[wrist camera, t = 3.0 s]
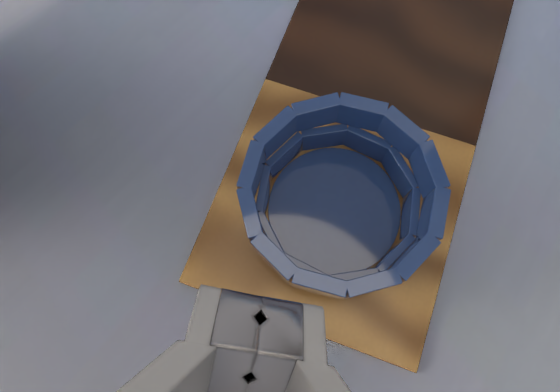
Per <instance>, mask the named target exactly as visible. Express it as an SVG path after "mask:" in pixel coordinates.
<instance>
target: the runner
mask: <svg viewBox="0 0 560 392" xmlns="http://www.w3.org/2000/svg"><path fill="white" fill-rule="evenodd" d="M316 97H320V96H318V95H315V94H311V93H308V92H305V91H302V90H299V89H296V88H293V87H289V86H286V85H283V84H280V83H277V82H274V81H271V80H267V79H265V81H264V84H263V86H262V88H261V91H260V93H259V95H258V98H257V100H256V102H255V105H254V107H253V109H252V112H251V114H250V116H249V119H248V121H247V123H246V126H245V128H244V130H243V133H242V135H241V137H240V140H239V142H238V144H237V147H236V149H235V151H234V154H233V156H232V158H231V161H230V163H229V165H228V168H227V170H226V172H225V175H224V177H223V179H222V182H221V184H220V186H219V189H218V191H217V193H216V196H215V198H214V200H213V203H212V205H211V207H210V210H209V212H208V214H207V217H206V219H205V221H204V224H203V226H202V228H201V231H200V233H199V235H198V238H197V240H196V242H195V245H194V247H193V249H192V252H191V254H190V256H189V259H188V261H187V263H186V266H185V268H184V270H183V273H182V275H181V277H180V280H179V282H181V283H184V284H186V285H189V286H191V287H194V288H196V289H199V287H200V285H201V284H202V285H207V286H212V287H217V288H221V291H222V288H224V289H228V290H233V291H238V292H243V293H248V294H252V295H257V296H265V297H271V298H277V299H282V300H288V301H294V302H300V303H301V304H302V303H305V304H311V305H317V306H322V307H323V309H324V316H325V331H326V339H329V340H331V341H334V342H337V343H339V344H342V345H344V346H347V347H350V348H352V349H355V350H357V351H360V352H363V353H365V354H368V355H370V356H373V357H376V358H378V359H381V360H383V361H386V362H389V363H391V364H394V365H396V366H399V367H402V368H404V369H407V370H409V371H412V372H414V373H417V369H418V366H419V362H420V358H421V354H422V350H423V347H424V343H425V339H426V335H427V331H428V327H429V324H430V320H431V316H432V312H433V308H434V304H435V301H436V297H437V293H438V289H439V285H440V281H441V278H442V274H443V270H444V266H445V262H446V258H447V255H448V251H449V247H450V243H451V239H452V235H453V232H454V228H455V224H456V220H457V216H458V212H459V209H460V205H461V201H462V197H463V193H464V189H465V186H466V182H467V178H468V174H469V170H470V166H471V163H472V159H473V155H474V151H475V147H476V146H474V145H471V144H468V143H465V142H462V141H459V140H456V139H453V138H449V137H446V136H443V135H440V134H437V133H434V132H431V131H427V130H424V129H422V130H423V131H424V132H426V133H427V134H428V135H429V136H430V138H429V139H428V140H427V141H429V140H433V142H434V144H435V147H436V149H437V152H438V154H439V157H440V159H441V162H442V164H443V167H444V169H445V172H446V174H447V177H448V180H449V182H450V185H451V186H450V187H448V188H447V189H451V195H450V200H449V206H448V212H447V218H446V224H445V230H444V236H443V239H441V240H440V242H441V244H440V245H439V246H438V247H437V248H436V249H435V250H434V251H433V252H432V254H431V255H430V256H429V257H428V258H427V259H426V260H425V261H424V262H423V263H422V264H421V266H420V267H419V268H418V269H417V270H416V271H415V272H414V273H413V274H412V275H411V276H410V278H409V279H408V280H407V281H405V282H402V284H399V285H396V286H393V287H390V288H386V289H382V290H379V291H375V292H371V293H368V294H364V295H360V296H357V297H353V298H349V299H346V300H344V299H340V300H338V299H335V298H331V297H328V296H324V295H320V294H317V293H313V292H310V291H306V290H302V289H299V288H295V287H292V286H291V282H292V281H291V282H290V283H289V284H287V283H286V282H285V281H284V280H283V279H282V278H281V277H280V276H279V275H278V274H277V273H276V272H275V271H274V270H273V269H272V268H271V267H270V266H269V265H268V264H267V263H266V262H265V261H264V260H263V259H262V258H261V257H260V256H259V255H258V254H257V253H256V252H255V250H254V249H253V247H252V245H251V244H250V241H249V239H248V237H247V233H246V229H245V224H244V220H243V216H242V212H241V208H240V204H239V200H238V196H237V192H236V190H237V186H236V184H237V181H238V178H239V175H240V172H241V169H242V165H243V162H244V159H245V156H246V153H247V150H248V147H249V143H250V140H253V136H254V135H255V134H256V133H257V132H259V131H260V130H261V129H262V128H263V127H264V126H265V125H266V124H267V123H269V122H270V121H271V120H272V119H273V118H274V117H275V116H276V115H277V114H279V113H280V112H281V111H282V110H283V109H284V108H285V107H286V106H290V107H291V104H292V103H295V102H299V101H303V100H307V99H311V98H316ZM338 124H340V123H336V122H335V123H331V124H327V125H323V126H319V127H324V126H331V125H338ZM348 126H349V125H347V127H348ZM315 128H317V127H315ZM360 129H361V128H360ZM363 130H365V129H363ZM365 131H367V132H369V133H372V134H374V135H376V136H378V137H380V138H383V137H381V136H380V135H379V134H378V133H377V132H374V131H369V130H365ZM296 133H297V132H296ZM296 133H295V134H296ZM299 133H300V134H301V131H299ZM295 134H294V135H295ZM291 137H292V136H291ZM291 137H290V138H291ZM290 138H289V139H290ZM289 139H288V140H289ZM383 139H384V138H383ZM288 140H287V141H288ZM287 141H286V142H287ZM286 142H285V143H286ZM285 143H284V144H285ZM284 144H283V145H284ZM283 145H282V146H283ZM282 146H281V147H282ZM391 147H392V146H391ZM324 148H342V149H348V150H352V151H355V150H353V149H351V148H349V147H347V146H344V145H338V146H331V147H324ZM278 149H279V148H278ZM278 149H277V150H278ZM318 149H322V148H318ZM277 150H276V151H277ZM313 150H317V149H311V150H304V151H301V152H300V153H299V154H298V155H297V156H296V157H295V158H294V159H296V158H298V157H299V156H301V155H303V154H305V153H307V152H310V151H313ZM276 151H275V152H276ZM275 152H274V153H275ZM355 152H357V151H355ZM274 153H273V154H274ZM358 153H360V152H358ZM273 154H272V155H273ZM360 154H362V153H360ZM400 154H401V153H400ZM272 155H271V156H272ZM362 155H364V154H362ZM401 155H402V154H401ZM271 156H270V157H271ZM364 156H366V155H364ZM270 157H269V158H270ZM366 157H368V156H366ZM402 157H403V158H404V160H405V162H406V163H407V165H408V166H409V168H410V170H411V171H412V168H411V166H410V163H409V160H408V159H407V158H406V157H405V156H404V155H402ZM269 158H268V159H269ZM368 158H369V159H371V160H372V161H374V162H375V163H376V164H378V165H379V166H380V167H381V168H382V169H383V170H384V171H385V173H386V174H387V175H388V173H387V172H386V170H385V168H384V167H383V165H382V163H381V162H379V161H377V160H375V159H373V158H370V157H368ZM268 159H267V160H268ZM294 159H293V160H294ZM293 160H292V161H293ZM292 161H291V162H292ZM291 162H290V163H291ZM288 164H289V163H288ZM288 164H287V165H288ZM287 165H286V166H287ZM286 166H285V167H286ZM285 167H284V168H285ZM284 168H283V169H284ZM283 169H282V170H283ZM282 170H281V171H282ZM281 171H280V172H279V173H278V174H277V175H276V176H275V177H274V178H272V184H271V189H270V192H271V190H272V187H273V184H274V182H275V181H276V179H277V177H278V176H279V174H280V173H281ZM412 173H413V171H412ZM388 176H389V175H388ZM389 178H390V176H389ZM390 179H391V178H390ZM391 181H392V180H391ZM392 183H393V181H392ZM259 184H260V183H259ZM393 184H394V183H393ZM394 187H395V189H396V191H397V194H398V197H399V201H400V208H401V214H402V202H403V198H402V196H401V194H400V193H399V191H398V190H397V188H396V186H395V185H394ZM418 188H419V187H418ZM258 189H259V186H258ZM258 189H257V193H256V196H255V202H256V200H257V195H258ZM269 197H270V195H269ZM422 201H423V198H422V195H421V197H420V211H419V217H420V212H421V206H422ZM268 202H269V200H268ZM266 217H267V219H268V221H269V218H268V206H267V212H266ZM400 225H401V220H400ZM399 237H400V227H399V230H398V234H397V236H396V239H395V241H394V243H393V245H392V246H391V248H392V247H393V246H394V245H395V244H396V243H397V242H398V241H399ZM415 238H416V237H415ZM391 248H390V249H391ZM406 250H407V249H406ZM406 250H405V251H406ZM389 251H390V250H389ZM389 251H388V252H389ZM405 251H404V252H405ZM388 252H387V253H388ZM387 253H386V254H387ZM386 254H385V255H386ZM381 259H382V258H381ZM381 259H380V260H381ZM380 260H379V261H380ZM379 261H378V262H379ZM378 262H377V263H378ZM377 263H376V264H377ZM376 264H374V265H373V266H371V267H370V268H373V267H374V266H375V265H376ZM392 265H393V264H392ZM392 265H391V266H392ZM391 266H390V267H391ZM370 268H368V269H370ZM220 296H221V294H220Z"/></svg>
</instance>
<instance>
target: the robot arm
mask: <svg viewBox="0 0 560 392" xmlns="http://www.w3.org/2000/svg"><path fill="white" fill-rule="evenodd" d="M220 294H221V296H220ZM116 392H351V390H350V389H349V387H348V386H347V385H346V383H345V382H344V380H343V379H342V377H341V376H340V375H339V373H338V372H337V370H336V369H335V367H333V366H328V361H327V346H326V331H325V316H324V309H323V307H322V306H317V305H311V304H305V303H302V304H301V303H300V302H294V301H288V300H282V299H277V298H271V297H265V296H257V295H252V294H248V293H243V292H238V291H233V290H228V289H224V288H222V291H221V288H217V287H212V286H207V285H202V284H201V285H200V287H199V289H198V293H197V296H196V300H195V304H194V307H193V311H192V315H191V318H190V322H189V326H188V329H187V333H186V336H185V340H184V341H182V340H177V341H176V342H175V343H174V344H172V345H171V346H170V347H169V348H168V349H166V350H165V351H164V352H163V353H162V354H160V355H159V356H158V357H157V358H156V359H154V360H153V361H152V362H151V363H150V364H149V365H147V366H146V367H145V368H144V369H143V370H141V371H140V372H139V373H138V374H137V375H135V376H134V377H133V378H132V379H131V380H129V381H128V382H127V383H126V384H125V385H123V386H122V387H121V388H120V389H119V390H117V391H116Z"/></svg>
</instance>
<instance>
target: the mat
mask: <svg viewBox="0 0 560 392" xmlns="http://www.w3.org/2000/svg"><path fill="white" fill-rule="evenodd" d="M513 2H514V0H299V2H298V4H297V7H296V9H295V11H294V14H293V16H292V18H291V21H290V23H289V25H288V28H287V30H286V32H285V35H284V37H283V39H282V42H281V44H280V46H279V49H278V51H277V53H276V56H275V58H274V60H273V63H272V65H271V67H270V70H269V72H268V74H267V77H266V79H267V80H271V81H274V82H277V83H280V84H283V85H286V86H289V87H293V88H296V89H299V90H302V91H305V92H308V93H311V94H315V95H318V96H324V95H328V94H332V93H336V92H338V94H339V97H340V95H341V92H344V93H348V94H352V95H357V96H361V97H365V98H370V99H374V100H378V101H383V102H387V103H389V106H388V108H389V107H390V106H392V105H393V106H395V107H396V108H397V109H398V110H399V111H401V112H402V113H403V114H404V115H405V116H407V117H408V118H409V119H410V120H411V121H413V122H414V123H415V124H416V125H417V126H419V127H420V128H421V129H424V130H427V131H431V132H434V133H437V134H440V135H443V136H446V137H449V138H453V139H456V140H459V141H462V142H465V143H468V144H471V145H474V146H476V143H477V140H478V136H479V132H480V128H481V124H482V120H483V117H484V113H485V109H486V105H487V101H488V97H489V94H490V90H491V86H492V82H493V78H494V74H495V71H496V67H497V63H498V59H499V55H500V51H501V48H502V44H503V40H504V36H505V32H506V28H507V25H508V21H509V17H510V13H511V9H512V5H513Z"/></svg>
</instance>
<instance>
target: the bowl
mask: <svg viewBox="0 0 560 392" xmlns="http://www.w3.org/2000/svg"><path fill="white" fill-rule="evenodd" d="M388 106H389V103H387V102H383V101H378V100H374V99H370V98H365V97H361V96H357V95H352V94H348V93H344V92H341V95H340V97H339V94H338V92H336V93H332V94H328V95H324V96H320V97H316V98H311V99H307V100H303V101H299V102H295V103H292V104H291V107H290V106H286V107H285V108H284V109H283V110H282V111H281V112H280V113H279V114H277V115H276V116H275V117H274V118H273V119H272V120H271V121H270V122H269V123H267V124H266V125H265V126H264V127H263V128H262V129H261V130H260V131H259V132H257V133H256V134H255V135H254V136H253V140H250V143H249V147H248V150H247V153H246V156H245V159H244V162H243V165H242V169H241V172H240V175H239V178H238V181H237V184H236V186H237V190H236V192H237V196H238V200H239V204H240V208H241V212H242V216H243V220H244V224H245V229H246V233H247V237H248V239H249V241H250V244H251V245H252V247H253V249H254V250H255V252H256V253H257V254H258V255H259V256H260V257H261V258H262V259H263V260H264V261H265V262H266V263H267V264H268V265H269V266H270V267H271V268H272V269H273V270H274V271H275V272H276V273H277V274H278V275H279V276H280V277H281V278H282V279H283V280H284V281H285V282H286V283H287V284H289V283H290V282H291V281H292V282H291V286H292V287H295V288H299V289H302V290H306V291H310V292H313V293H317V294H320V295H324V296H328V297H331V298H335V299H338V300H340V299H344V300H346V299H349V298H353V297H357V296H360V295H364V294H368V293H371V292H375V291H379V290H382V289H386V288H390V287H393V286H396V285H399V284H402V282H405V281H407V280H408V279H409V278H410V276H411V275H412V274H413V273H414V272H415V271H416V270H417V269H418V268H419V267H420V266H421V264H422V263H423V262H424V261H425V260H426V259H427V258H428V257H429V256H430V255H431V254H432V252H433V251H434V250H435V249H436V248H437V247H438V246H439V245H440V244H441V242H440V240H441V239H443V236H444V230H445V224H446V218H447V212H448V206H449V200H450V195H451V189H447V188H448V187H450V186H451V185H450V182H449V180H448V177H447V174H446V172H445V169H444V167H443V164H442V162H441V159H440V157H439V154H438V152H437V149H436V147H435V144H434V142H433V140H429V141H427V140H428V139H429V138H430V136H429V135H428V134H427V133H426V132H424V131H423V130H422V129H421V128H420V127H419V126H417V125H416V124H415V123H414V122H413V121H411V120H410V119H409V118H408V117H407V116H405V115H404V114H403V113H402V112H401V111H399V110H398V109H397V108H396V107H395V106H393V105H392V106H390V107H389V108H388ZM335 122H336V123H340V124H338V125H331V126H324V127H319V126H323V125H327V124H331V123H335ZM347 125H349V126H348V127H347ZM315 127H317V128H315ZM360 128H361V129H360ZM363 129H365V130H369V131H374V132H377V133H378V134H379V135H380V136H381V137H383V138H384V139H383V138H380V137H378V136H376V135H374V134H372V133H369V132H367V131H365V130H363ZM299 131H301V134H300V133H299ZM296 132H297V133H296ZM295 133H296V134H295ZM294 134H295V135H294ZM291 136H292V137H291ZM290 137H291V138H290ZM289 138H290V139H289ZM288 139H289V140H288ZM287 140H288V141H287ZM286 141H287V142H286ZM285 142H286V143H285ZM284 143H285V144H284ZM283 144H284V145H283ZM282 145H283V146H282ZM338 145H344V146H347V147H349V148H351V149H353V150H355V151H357V152H355V151H352V150H348V149H342V148H324V147H331V146H338ZM281 146H282V147H281ZM391 146H392V147H391ZM278 148H279V149H278ZM318 148H322V149H318ZM277 149H278V150H277ZM311 149H317V150H313V151H310V152H307V153H305V154H303V155H301V156H299V157H298V158H296V159H294V158H295V157H296V156H297V155H298V154H299V153H300V152H301V151H304V150H311ZM276 150H277V151H276ZM275 151H276V152H275ZM274 152H275V153H274ZM358 152H360V153H362V154H364V155H366V156H368V157H370V158H373V159H375V160H377V161H379V162H381V163H382V165H383V167H384V168H385V170H386V172H387V173H388V175H389V176H390V178H391V179H390V178H389V176H388V175H387V174H386V173H385V171H384V170H383V169H382V168H381V167H380V166H379V165H378V164H376V163H375V162H374V161H372V160H371V159H369V158H368V157H366V156H364V155H362V154H360V153H358ZM273 153H274V154H273ZM400 153H401V154H402V155H404V156H405V157H406V158H407V159H408V160H409V163H410V166H411V168H412V171H413V173H412V171H411V170H410V168H409V166H408V165H407V163H406V162H405V160H404V158H403V157H402V155H401V154H400ZM272 154H273V155H272ZM271 155H272V156H271ZM270 156H271V157H270ZM269 157H270V158H269ZM268 158H269V159H268ZM267 159H268V160H267ZM293 159H294V160H293ZM292 160H293V161H292ZM291 161H292V162H291ZM290 162H291V163H290ZM288 163H289V164H288ZM287 164H288V165H287ZM286 165H287V166H286ZM285 166H286V167H285ZM284 167H285V168H284ZM283 168H284V169H283ZM282 169H283V170H282ZM281 170H282V171H281ZM280 171H281V173H280V174H279V176H278V177H277V179H276V181H275V182H274V184H273V187H272V190H271V192H270V189H271V184H272V178H274V177H275V176H276V175H277V174H278V173H279V172H280ZM391 180H392V181H393V183H394V184H393V183H392V181H391ZM259 183H260V184H259ZM394 185H395V186H396V188H397V190H398V191H399V193H400V194H401V196H402V198H403V202H402V214H401V208H400V201H399V197H398V194H397V191H396V189H395V187H394ZM258 186H259V189H258ZM418 187H419V188H418ZM257 189H258V195H257V200H256V202H255V196H256V193H257ZM269 195H270V197H269ZM421 195H422V198H423V201H422V206H421V212H420V217H419V211H420V197H421ZM268 200H269V202H268ZM267 206H268V218H269V221H268V219H267V217H266V212H267ZM400 220H401V225H400ZM399 227H400V237H399V241H398V242H397V243H396V244H395V245H394V246H393V247H392V248H391V246H392V245H393V243H394V241H395V239H396V236H397V234H398V230H399ZM415 237H416V238H415ZM390 248H391V249H390ZM406 249H407V250H406ZM389 250H390V251H389ZM405 250H406V251H405ZM388 251H389V252H388ZM404 251H405V252H404ZM387 252H388V253H387ZM386 253H387V254H386ZM385 254H386V255H385ZM381 258H382V259H381ZM380 259H381V260H380ZM379 260H380V261H379ZM378 261H379V262H378ZM377 262H378V263H377ZM376 263H377V264H376ZM374 264H376V265H375V266H374V267H373V268H370V267H371V266H373V265H374ZM392 264H393V265H392ZM391 265H392V266H391ZM390 266H391V267H390ZM368 268H370V269H368Z"/></svg>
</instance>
